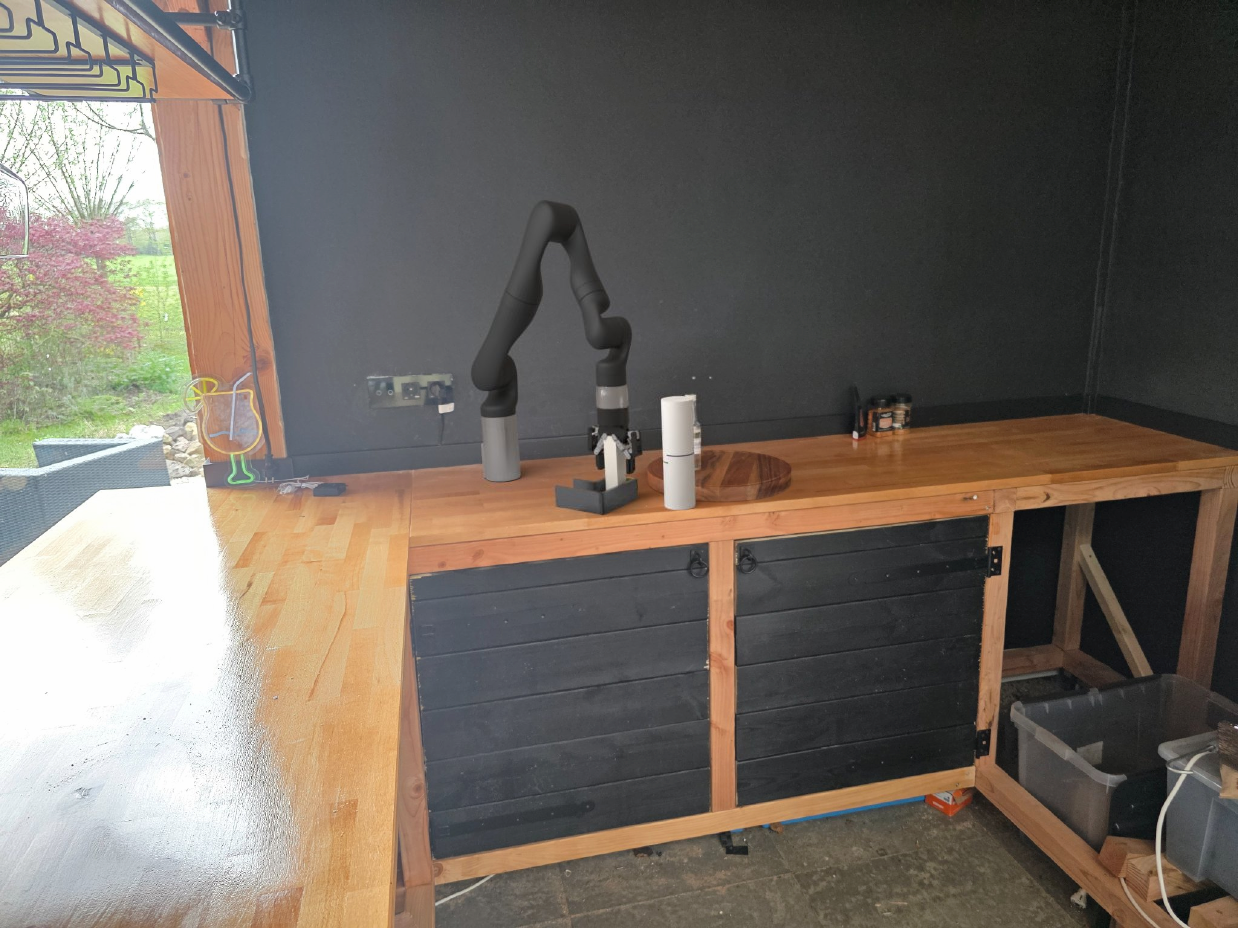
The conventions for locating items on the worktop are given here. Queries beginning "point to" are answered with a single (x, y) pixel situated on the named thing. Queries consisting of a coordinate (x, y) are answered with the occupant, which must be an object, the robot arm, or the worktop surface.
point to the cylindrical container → (678, 452)
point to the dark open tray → (596, 495)
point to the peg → (614, 464)
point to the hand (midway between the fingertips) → (615, 471)
